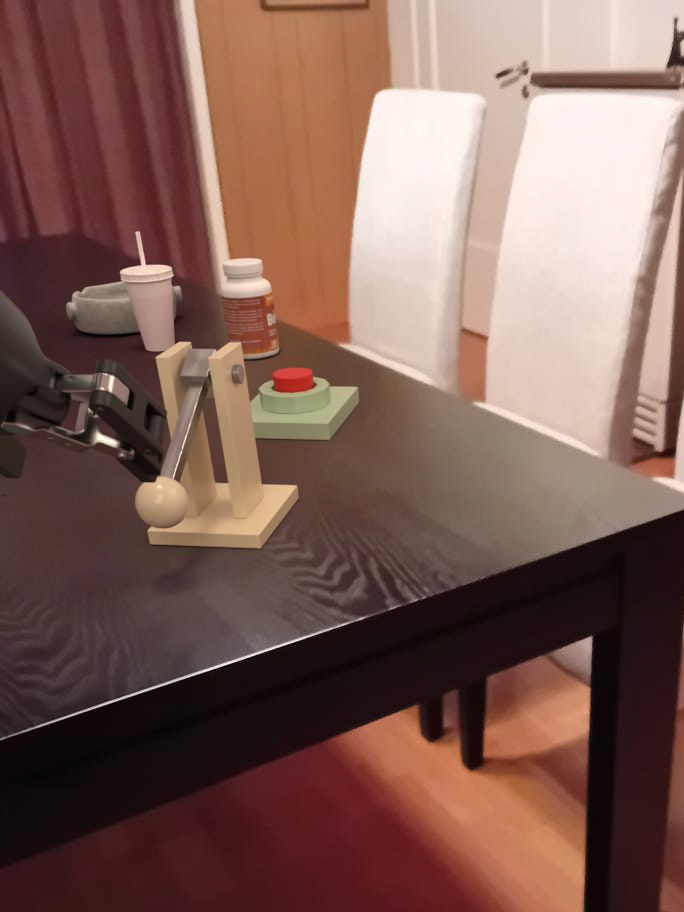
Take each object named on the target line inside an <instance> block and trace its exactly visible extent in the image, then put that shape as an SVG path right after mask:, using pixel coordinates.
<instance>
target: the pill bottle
mask: <svg viewBox="0 0 684 912" xmlns="http://www.w3.org/2000/svg"><path fill="white" fill-rule="evenodd" d="M222 270H223V271H222V272H223V274H224V277H226V280H224V282H222V284H221V285H220V290H219V291H220V298H221V305H222V312H223V318H224V324H225V329H226V338H227V344H228V343H229V342H240V343H241V345H242V352H243V359H244V360H260V359H265V358H270V357H273V356H276V355H277V354H278V353H279V351H280V341H279V334H278V325H277V318H276V310H275V303H274V295H273V294H274V293H273V289H272V284H271V283H270V281H268V280H267V279H266V278H264V277H263V274H264V266H263V260H262V259H260V258H254V257H246V258H245V257H243V258H234V259H228V260H225V261H223V262H222Z"/></svg>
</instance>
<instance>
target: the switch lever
mask: <svg viewBox="0 0 684 912" xmlns="http://www.w3.org/2000/svg"><path fill="white" fill-rule="evenodd" d="M217 351H218V350H217V348H192V349H188V352H187V355H186V358H185V361H184V364H183V367H182V370H181V373H180V378H181V380H182V382H183V384H184V386H185V388H186V390H187V393H186V396H185V399H184V402H183V405H182V408H181V412H180V415H179V418H178V421H177V424H176V427H175V430H174V433H173V436H172V439H171V438H170V443H169V446H168V449H167V452H166V455H165V457H164V460H163V464H162V470H161V475H158V476H157V480H156V482H154V483H146V482H142V484H140V486H139V487H138V489H136V493H135V496H134V507H135V510H136V513H137V514H138V516H139V518H140V519H141V520H142V522H144V523H145V524H147V525H148V526H150V527H155V528H161V529H166V528H171V527H174V526H176V525H177V524H179V523H180V522H181V521H182V520H183V519H184V518H185V516H186V515H187V512H188V509H189V498H188V495H187V492H186V490H185V489H184V488H183V486H182V485H181V484H180V479H181V476H182V473H183V470H184V467H185V463H186V460H187V457H188V454H189V451H190V447H191V444H192V441H193V438H194V434H195V431H196V428H197V425H198V422H199V418H200V415H201V412H202V409H203V410H204V405H205V402H206V399H215V398H214V392H213V386H212V380H211V374H210V367H209V361H208V358H209V357H210V356H211V355H213V354H214V353H215V352H217Z"/></svg>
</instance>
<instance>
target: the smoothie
mask: <svg viewBox="0 0 684 912" xmlns="http://www.w3.org/2000/svg"><path fill="white" fill-rule="evenodd" d="M134 233H135V239H136V245H137V249H138V254H139V260H140V265H135V266H130V267H126V268H123V269H121V270H120V271H119V275H120V281H121V282H122V281H124V283H125V286H126V289H127V293H128V296H129V299H130V302H131V305H132V308H133V311H134V314H135V317H136V320H137V324H138V327H139V330H140V332H139V333H140V336H141V339H142V342H143V345H144V349H145V351H148V352H164V351H166V350H167V349H169V348H171V347H172V346H174V345H175V344H176V341H175V340H176V339H175V338H176V337H175V336H176V335H175V319H174V317H173V299H172V286H173V285H172V282H173V281H172V278H173V277H174V272H173V267H172V266H170V265H166V264H146V263H147V262H146V258H145V253H144V247H143V242H142V241H143V240H142V236H141V232H140V231H139V230H138V231H135V232H134Z"/></svg>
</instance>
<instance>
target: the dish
mask: <svg viewBox="0 0 684 912" xmlns="http://www.w3.org/2000/svg"><path fill="white" fill-rule="evenodd" d="M172 299H173V317H174V320H175V319H176V318H177V317H176V316H177V304H178V303H179V304H180V303H182V302H183V291H182V287H181V286H180V285H175V286H173V285H172ZM65 310H66V315H67V318H68V319H69V320H70V321H73V322H74V326H75V328H76V329H77V330H78V331H80V332H81V333H82V332H83V333H86V334H92V335H104V336H105V335H107V336H108V335H110V336H111V335H127V334H128V335H129V334H137V333H140V330H139V327H138V324H137V320H136V317H135V314H134V311H133V308H132V305H131V302H130V299H129V296H128V293H127V289H126V286H125V283H124V281H122V280H121V281H116V282H111V283H104V284H99V285H91V286H86V287H84V288H83V289H82V291H78V290H76V291H74V292H73V293H72V295H71V301H68V302H67V303H66V305H65Z"/></svg>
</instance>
